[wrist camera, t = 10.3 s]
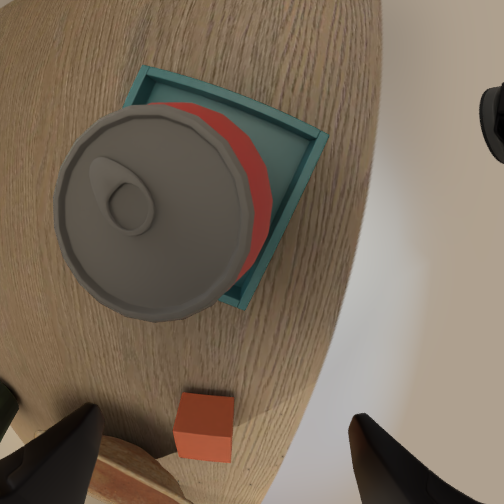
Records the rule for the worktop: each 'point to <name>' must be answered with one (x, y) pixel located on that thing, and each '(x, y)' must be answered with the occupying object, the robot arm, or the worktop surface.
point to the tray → (265, 141)
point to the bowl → (131, 475)
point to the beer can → (161, 209)
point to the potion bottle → (6, 409)
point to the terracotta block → (204, 427)
